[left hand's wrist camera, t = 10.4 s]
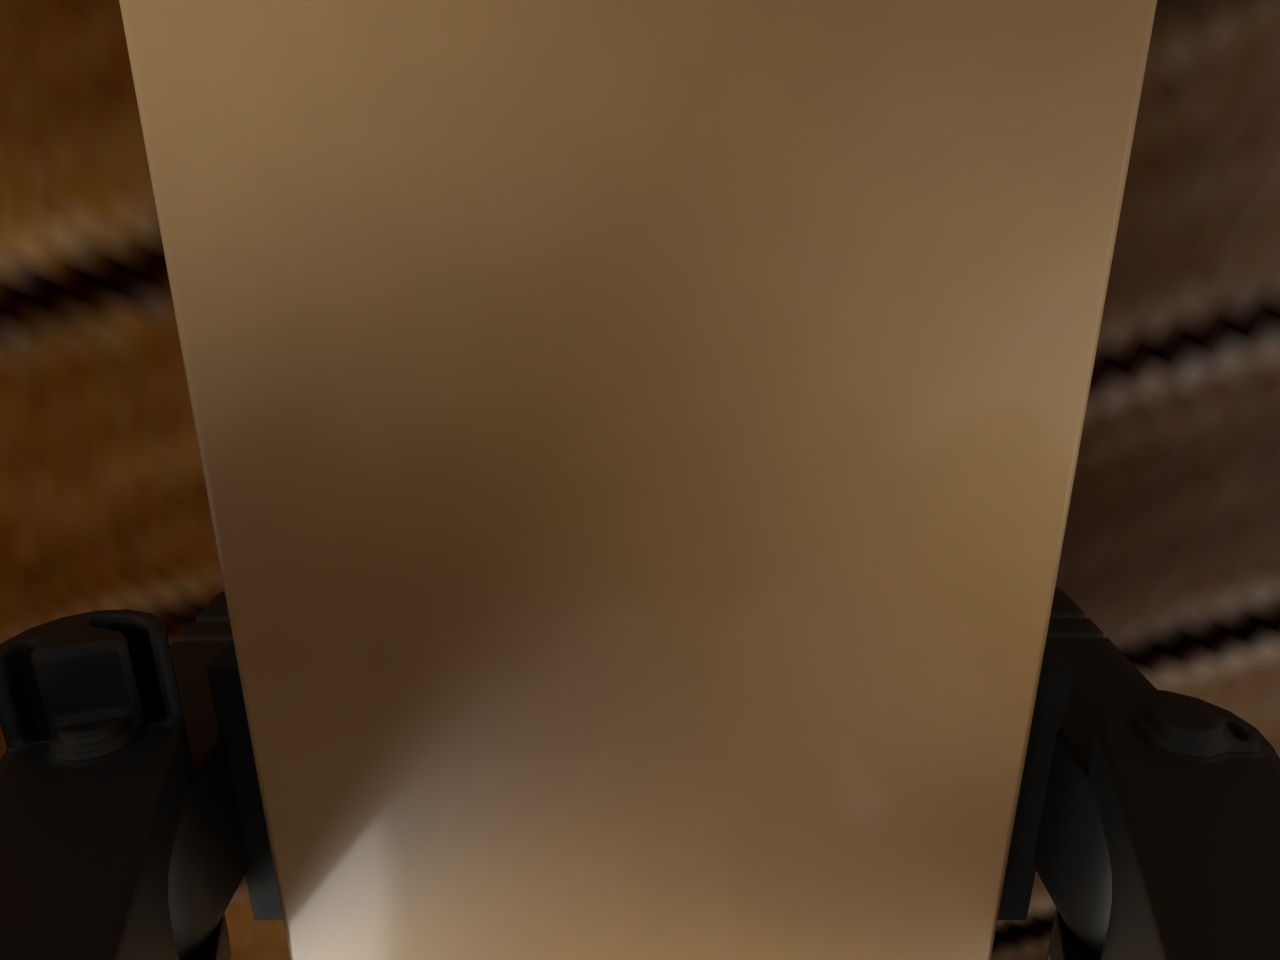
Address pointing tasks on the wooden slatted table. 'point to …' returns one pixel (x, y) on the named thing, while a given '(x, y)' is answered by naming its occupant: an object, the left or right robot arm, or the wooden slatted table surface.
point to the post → (639, 448)
